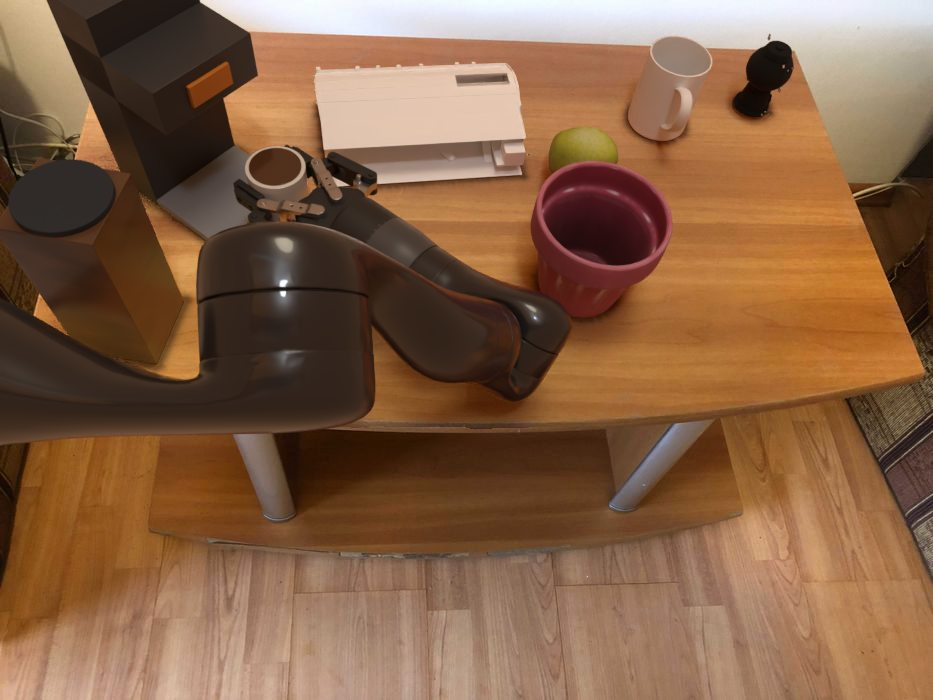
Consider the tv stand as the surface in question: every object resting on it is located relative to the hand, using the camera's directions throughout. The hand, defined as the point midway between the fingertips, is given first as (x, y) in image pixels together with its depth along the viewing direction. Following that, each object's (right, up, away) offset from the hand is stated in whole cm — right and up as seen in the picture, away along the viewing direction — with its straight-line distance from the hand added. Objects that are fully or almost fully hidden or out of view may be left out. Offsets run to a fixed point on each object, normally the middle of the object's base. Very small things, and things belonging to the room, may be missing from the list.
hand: (261, 169), depth 77 cm
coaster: (-12, -6, -16) cm, 21 cm away
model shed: (+15, +8, +18) cm, 25 cm away
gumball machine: (+61, +15, +27) cm, 68 cm away
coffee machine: (-9, +1, +11) cm, 14 cm away
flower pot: (+34, -12, +8) cm, 37 cm away
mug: (+47, +10, +23) cm, 53 cm away
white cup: (+1, -5, +5) cm, 7 cm away
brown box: (-13, -16, 0) cm, 21 cm away
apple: (+35, +2, +16) cm, 39 cm away
